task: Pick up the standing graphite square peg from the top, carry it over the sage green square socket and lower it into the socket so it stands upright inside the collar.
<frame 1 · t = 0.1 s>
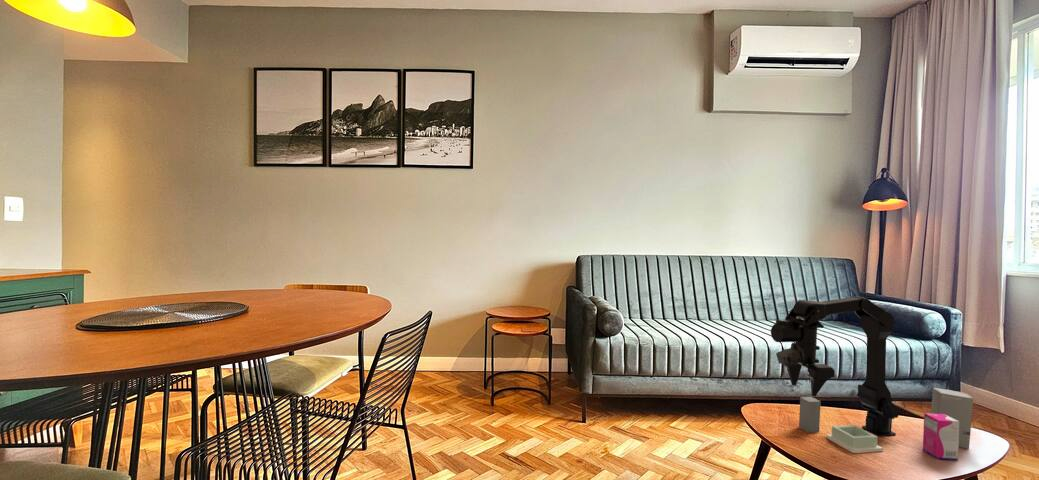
hand: (803, 390, 150), 14 cm above the table, tool pointing down, fingers open, 9 cm apart
supplement box: (939, 455, 140), on the table
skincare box: (949, 442, 148), on the table
socket block: (853, 444, 145), on the table
peg: (808, 429, 155), on the table
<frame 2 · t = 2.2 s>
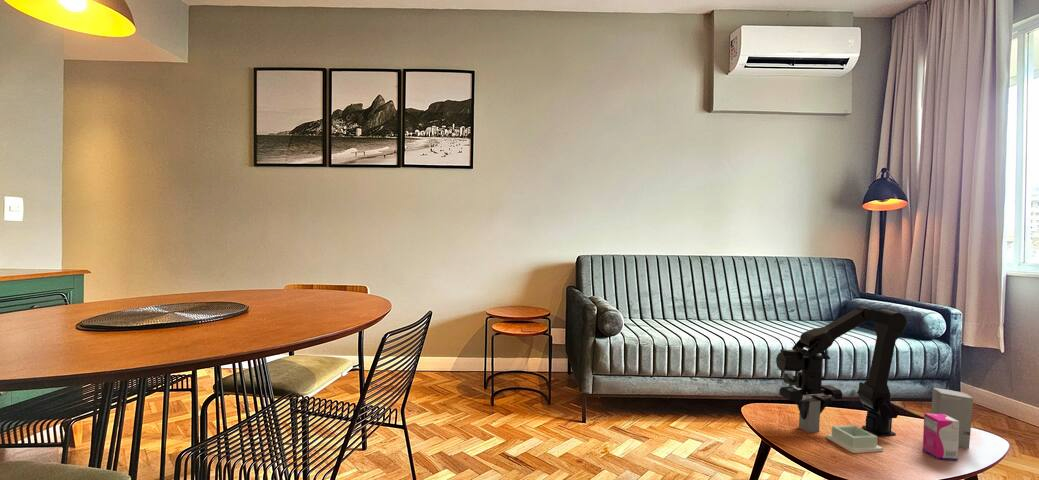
hand: (809, 418, 155), 4 cm above the table, tool pointing down, fingers closed on peg, 4 cm apart
peg: (808, 429, 155), on the table, touching gripper
everything else where it was.
when the fingers open (6 cm above the table, at t = 7.3 s): peg drops 1 cm, resting on socket block.
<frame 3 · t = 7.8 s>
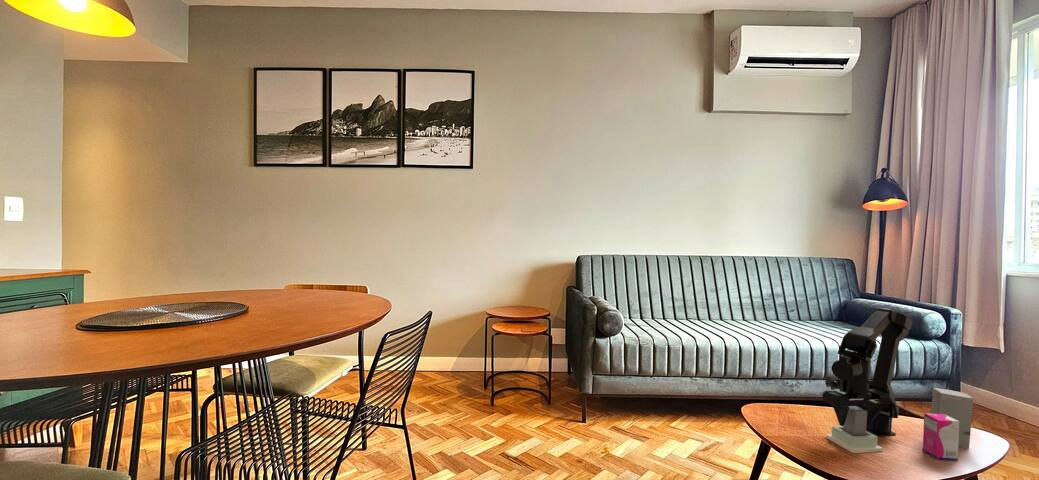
hand: (854, 424, 145), 6 cm above the table, tool pointing down, fingers open, 9 cm apart
peg: (853, 441, 145), point 1 cm above the table, touching socket block
everything else where it was.
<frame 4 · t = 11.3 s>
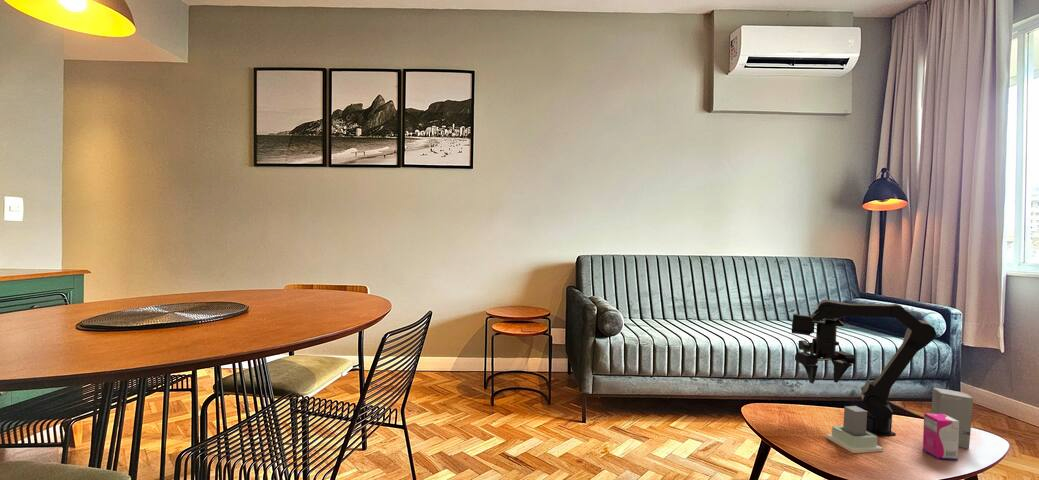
hand: (823, 382, 162), 13 cm above the table, tool pointing down, fingers open, 9 cm apart
nothing on the table moved.
at the end: peg 0.0 cm off-centre on the socket block, point 1.0 cm above the socket block's base; peg tilted 0°; the gripper is holding nothing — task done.
